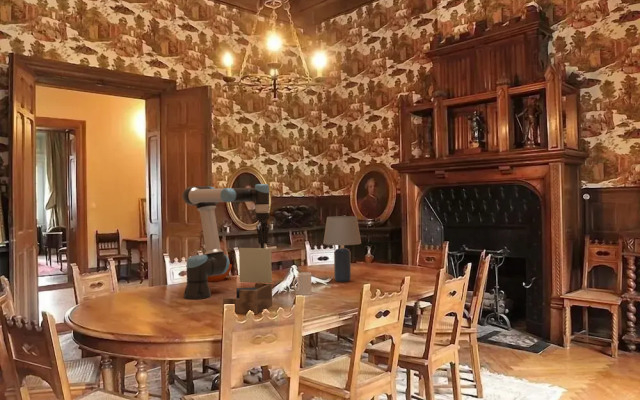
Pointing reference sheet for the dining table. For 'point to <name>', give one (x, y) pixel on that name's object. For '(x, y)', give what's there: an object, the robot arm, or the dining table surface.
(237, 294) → the small box
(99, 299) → the dining table surface
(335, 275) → the lamp
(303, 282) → the mug
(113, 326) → the dining table surface
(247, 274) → the lid
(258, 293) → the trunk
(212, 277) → the bowl
